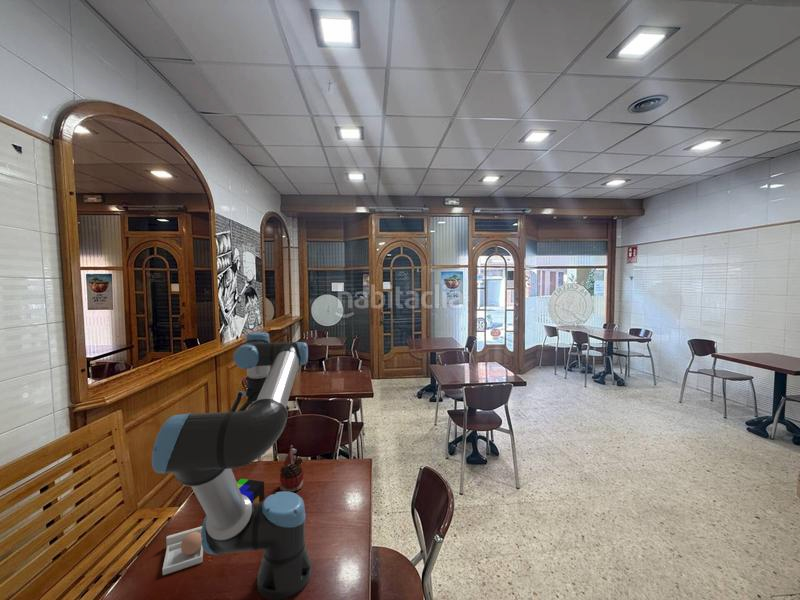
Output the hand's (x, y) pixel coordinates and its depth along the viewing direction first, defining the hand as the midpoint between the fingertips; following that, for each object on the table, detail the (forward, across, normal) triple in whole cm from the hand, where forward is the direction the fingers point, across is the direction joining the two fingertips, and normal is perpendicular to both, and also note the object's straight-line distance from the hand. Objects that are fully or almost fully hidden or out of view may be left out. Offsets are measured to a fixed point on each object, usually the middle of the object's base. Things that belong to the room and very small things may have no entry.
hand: (259, 434), depth 121 cm
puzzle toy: (+33, +5, -8) cm, 34 cm away
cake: (+33, -14, -17) cm, 40 cm away
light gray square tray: (+33, +23, +6) cm, 40 cm away
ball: (+31, +23, +5) cm, 39 cm away
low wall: (+33, +22, -2) cm, 40 cm away
